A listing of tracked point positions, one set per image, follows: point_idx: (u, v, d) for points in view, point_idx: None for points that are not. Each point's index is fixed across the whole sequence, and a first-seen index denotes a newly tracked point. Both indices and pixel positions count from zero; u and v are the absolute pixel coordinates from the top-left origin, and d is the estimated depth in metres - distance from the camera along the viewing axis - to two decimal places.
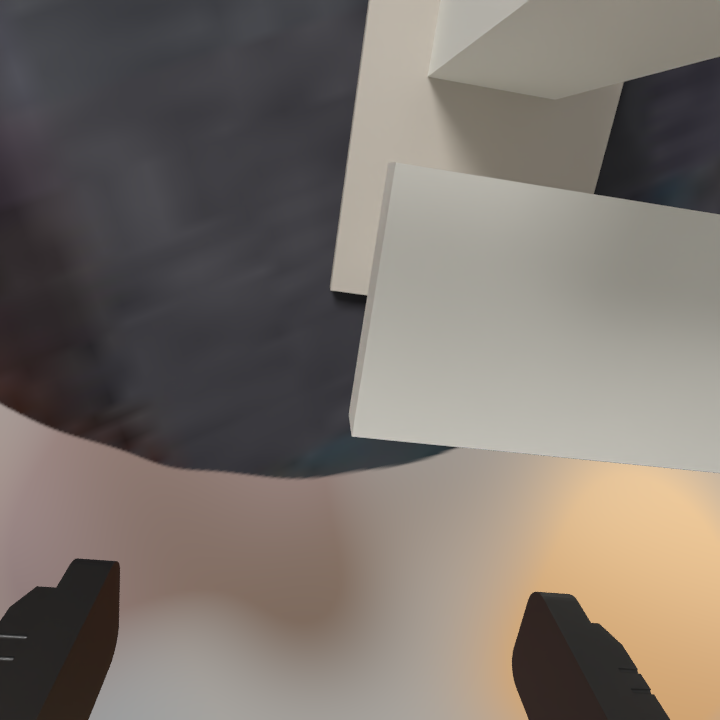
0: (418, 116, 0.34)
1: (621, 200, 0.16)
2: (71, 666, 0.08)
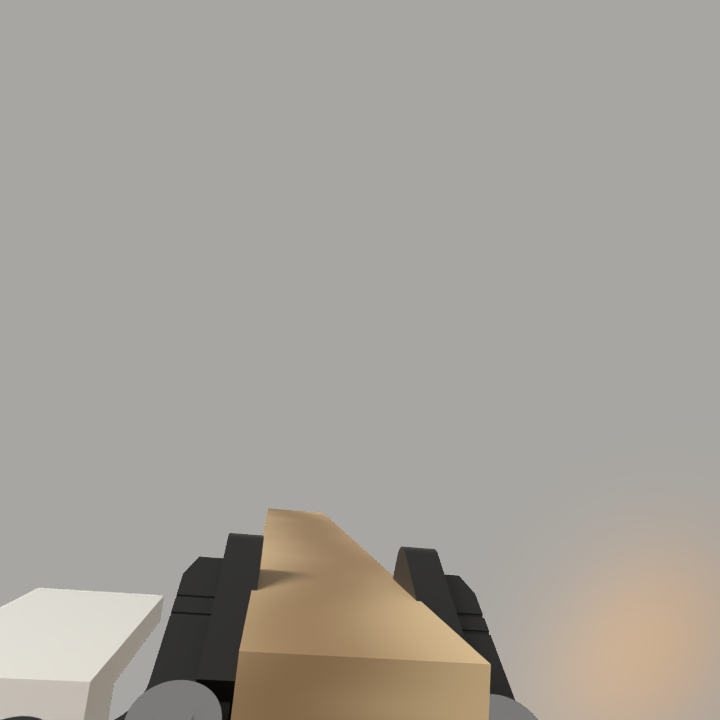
0: None
1: None
2: None
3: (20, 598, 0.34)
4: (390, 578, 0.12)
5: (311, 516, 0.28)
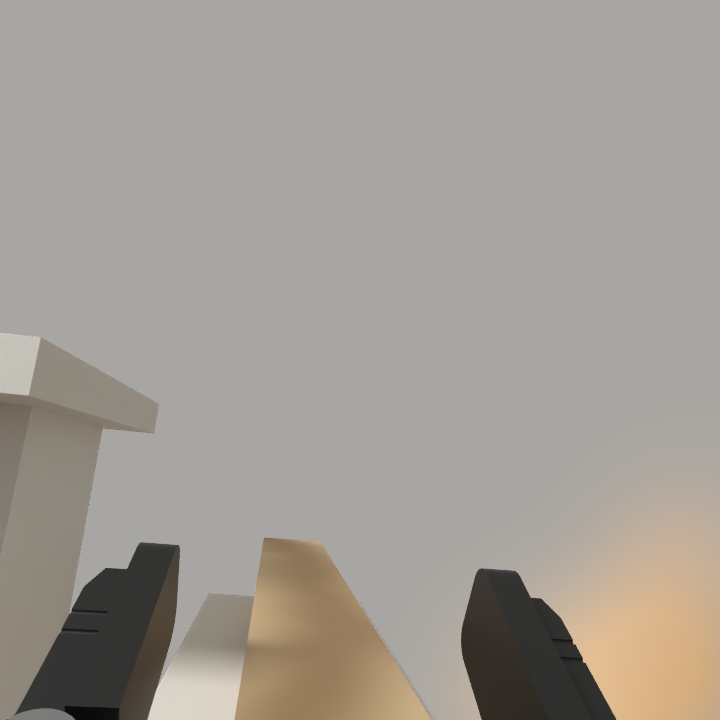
0: None
1: (179, 649, 0.20)
2: (149, 639, 0.09)
3: None
4: (386, 656, 0.12)
5: (307, 548, 0.27)
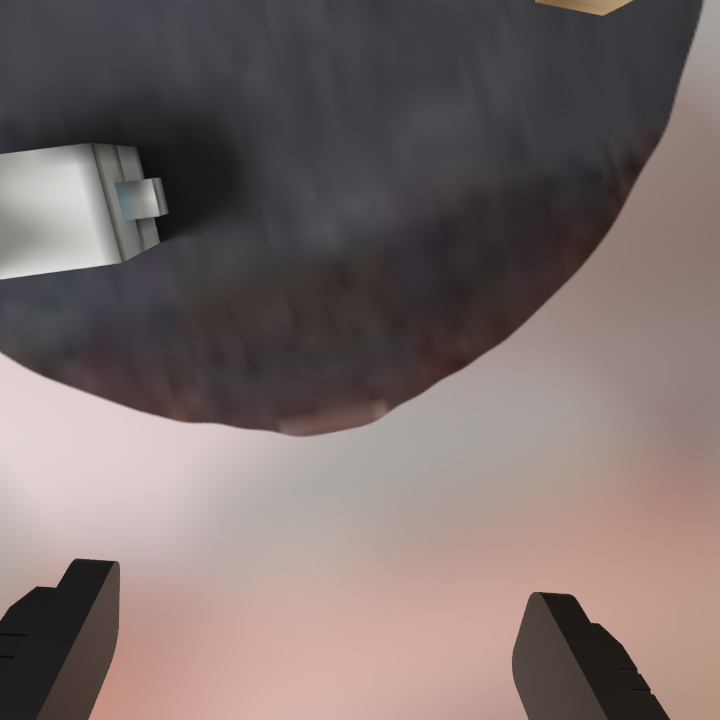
0: None
1: None
2: (71, 666, 0.08)
3: None
4: None
5: None
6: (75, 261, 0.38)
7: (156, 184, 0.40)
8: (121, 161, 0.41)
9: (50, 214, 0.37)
